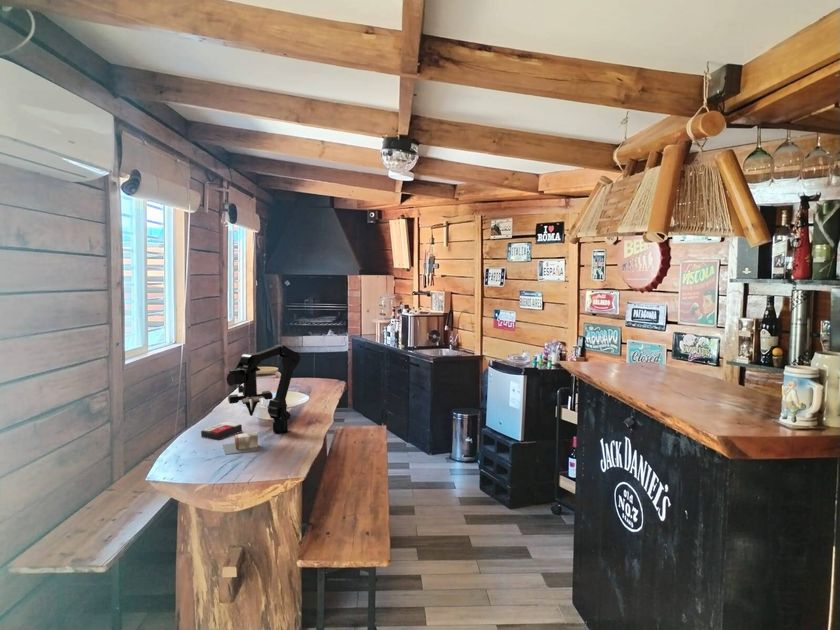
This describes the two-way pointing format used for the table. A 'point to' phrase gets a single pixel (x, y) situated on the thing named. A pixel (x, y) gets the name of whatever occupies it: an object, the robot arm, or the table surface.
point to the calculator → (221, 430)
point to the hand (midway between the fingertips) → (251, 415)
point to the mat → (232, 449)
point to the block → (246, 440)
